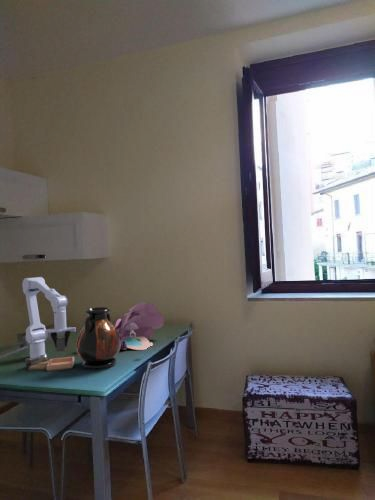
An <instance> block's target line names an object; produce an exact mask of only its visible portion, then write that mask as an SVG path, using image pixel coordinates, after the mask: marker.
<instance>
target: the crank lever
mask: <svg viewBox="0 0 375 500" xmlns="http://www.w3.org/2000/svg"><path fill="white" fill-rule="evenodd" d="M47 360H48V355H40V356H39V357H36V358H33V359H31V358H30V357H29V358H28V357H27V358H25V359H24V362H25V367H30V366H31V365H33V364H36V363H39V362H44V361H47Z"/></svg>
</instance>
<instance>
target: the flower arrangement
mask: <svg viewBox="0 0 375 500" xmlns="http://www.w3.org/2000/svg"><path fill="white" fill-rule="evenodd" d="M128 311H129V312H127V313H125V314H124V315H123V316H122V318H118V319H117V320H116V322H115V324H114V326H115V328H116V329H117V331H118V333H119V336H120V340H121V347H120V350H123V351H125V350H127V349H131V350H136V351H143V350H147V348H148V347H150V346H153V345H154V344H153V342H150V339H151V338H152V337H153V335H154V330H159V329H160V328H162V327H163V326H164V324H165V319H164V315H163V314H162V313H161V312H160V311H159V310H158V308H157V305H155V304H154V303H151V302H147V303H146V302H144V301H142V302H139V303H137V304H136V305H133V307H131V308H129V309H128ZM150 348H151V347H150ZM148 349H149V348H148Z"/></svg>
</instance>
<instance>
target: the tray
mask: <svg viewBox="0 0 375 500" xmlns="http://www.w3.org/2000/svg"><path fill="white" fill-rule="evenodd" d="M49 360H50V361H49V363H48V364H47V366H46V369H45V370H46V372H51V371H60V370H70V369H71V370H72V369H73V367H74V364H75V356H67V357H56V358H50V359H49Z"/></svg>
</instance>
